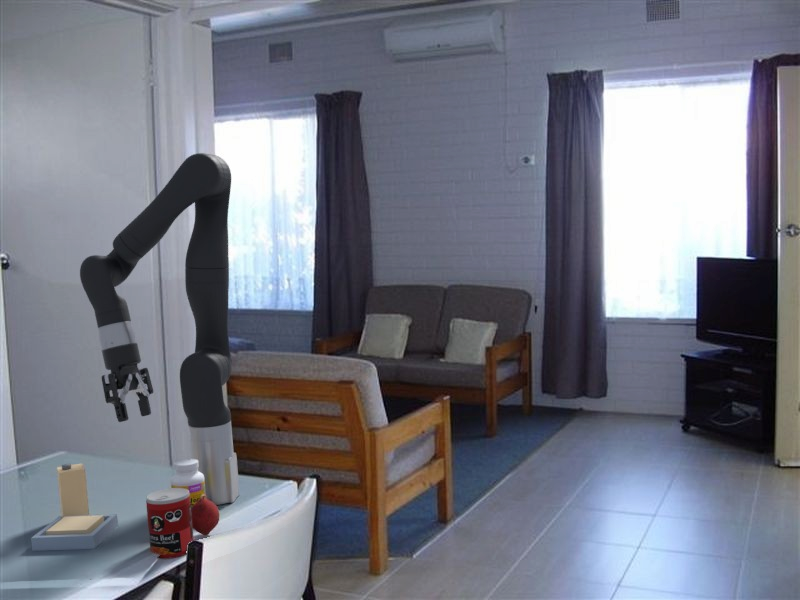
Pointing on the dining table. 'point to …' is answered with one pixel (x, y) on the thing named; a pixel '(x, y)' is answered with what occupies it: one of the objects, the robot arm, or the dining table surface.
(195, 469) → the supplement bottle
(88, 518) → the beige slab
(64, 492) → the carton
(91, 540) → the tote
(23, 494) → the dining table surface
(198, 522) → the onion
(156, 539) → the canned food
